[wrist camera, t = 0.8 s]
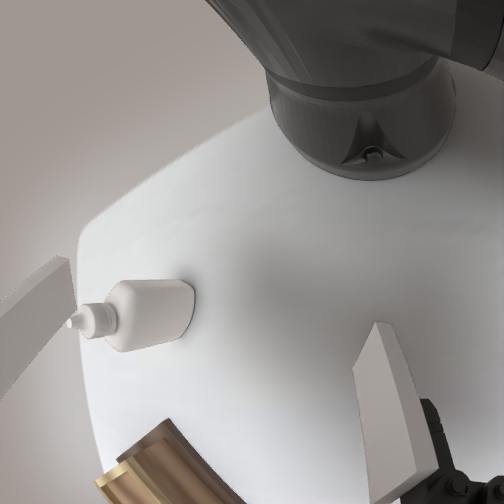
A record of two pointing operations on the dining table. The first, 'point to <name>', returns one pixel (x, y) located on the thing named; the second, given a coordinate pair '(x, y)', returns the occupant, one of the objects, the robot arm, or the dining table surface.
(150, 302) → the eye dropper bottle
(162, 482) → the display pedestal
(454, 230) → the dining table surface
